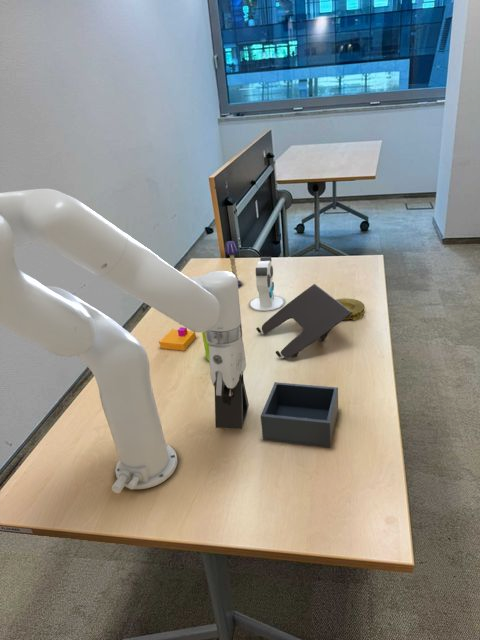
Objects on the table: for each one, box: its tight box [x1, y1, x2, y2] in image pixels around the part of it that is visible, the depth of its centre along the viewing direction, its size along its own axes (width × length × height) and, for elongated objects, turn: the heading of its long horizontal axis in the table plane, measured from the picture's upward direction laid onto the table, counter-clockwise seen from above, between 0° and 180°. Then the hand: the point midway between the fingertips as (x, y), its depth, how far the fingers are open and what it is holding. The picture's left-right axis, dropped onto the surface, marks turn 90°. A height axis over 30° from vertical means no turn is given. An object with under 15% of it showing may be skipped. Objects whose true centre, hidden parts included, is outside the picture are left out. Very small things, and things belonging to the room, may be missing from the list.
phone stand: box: [214, 372, 250, 430], centre depth 106 cm, size 9×6×12 cm, turn 171°
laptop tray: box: [255, 283, 352, 360], centre depth 139 cm, size 23×23×9 cm
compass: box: [335, 297, 365, 321], centre depth 151 cm, size 12×12×2 cm
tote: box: [260, 381, 339, 449], centre depth 105 cm, size 13×15×7 cm
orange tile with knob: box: [158, 326, 197, 352], centre depth 143 cm, size 8×8×4 cm
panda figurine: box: [249, 256, 284, 312], centre depth 159 cm, size 12×11×15 cm
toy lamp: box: [224, 240, 243, 288], centre depth 175 cm, size 5×5×17 cm
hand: (231, 403), depth 107 cm, fingers closed on phone stand, 2 cm apart
